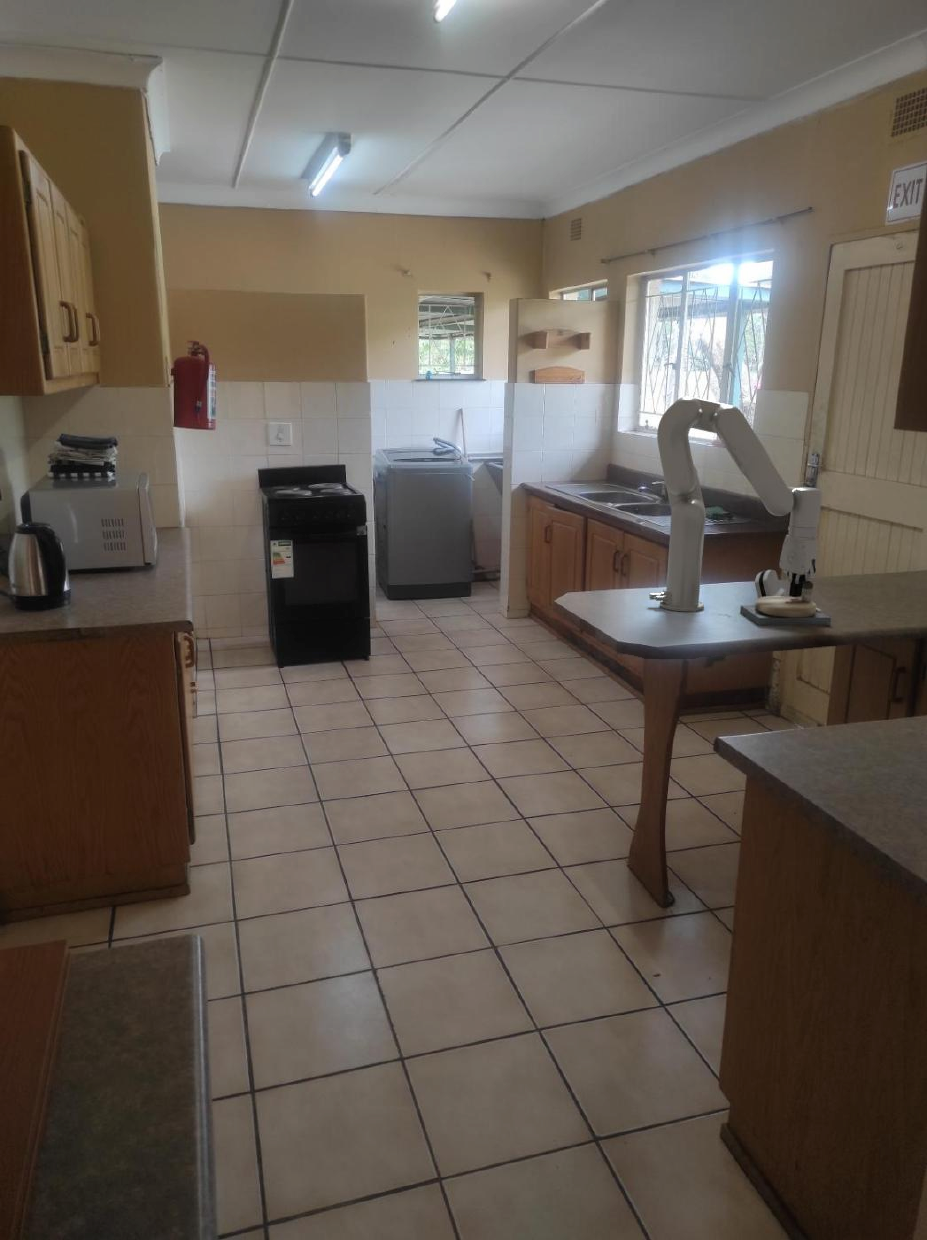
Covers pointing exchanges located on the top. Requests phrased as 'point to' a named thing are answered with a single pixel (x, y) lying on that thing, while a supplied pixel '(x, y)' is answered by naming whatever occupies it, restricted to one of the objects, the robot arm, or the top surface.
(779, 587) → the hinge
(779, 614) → the wheel
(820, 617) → the wheel base
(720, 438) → the robot arm
